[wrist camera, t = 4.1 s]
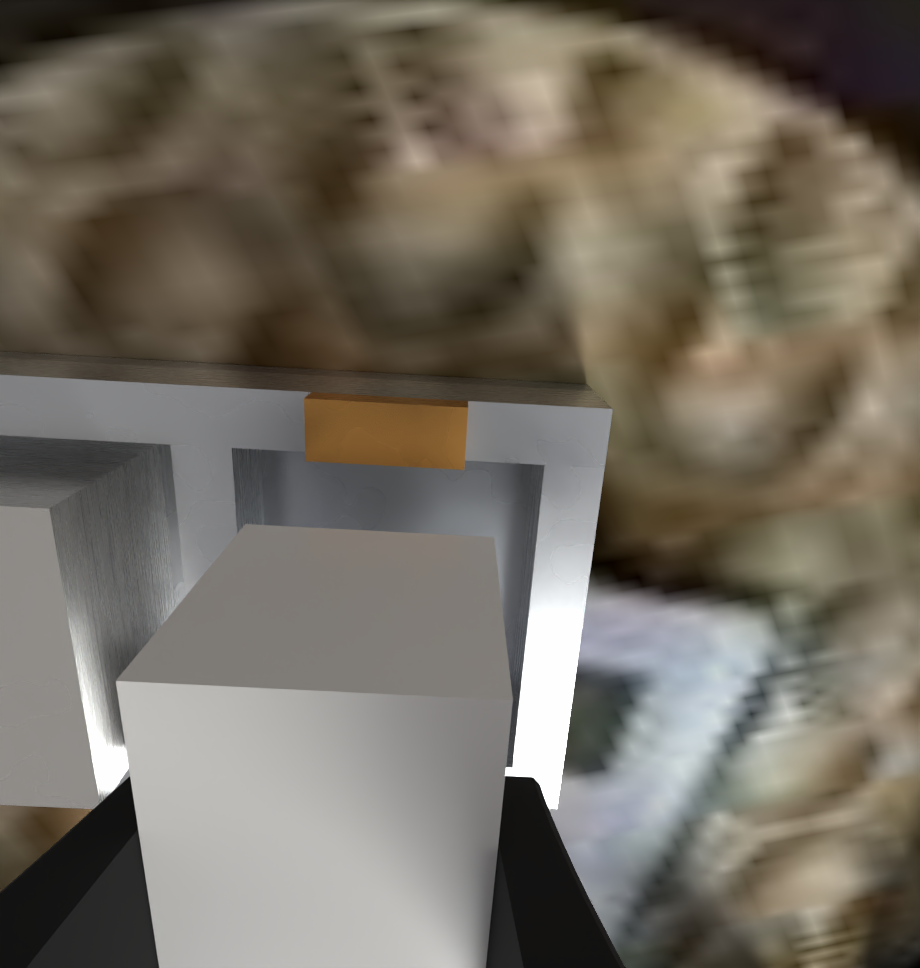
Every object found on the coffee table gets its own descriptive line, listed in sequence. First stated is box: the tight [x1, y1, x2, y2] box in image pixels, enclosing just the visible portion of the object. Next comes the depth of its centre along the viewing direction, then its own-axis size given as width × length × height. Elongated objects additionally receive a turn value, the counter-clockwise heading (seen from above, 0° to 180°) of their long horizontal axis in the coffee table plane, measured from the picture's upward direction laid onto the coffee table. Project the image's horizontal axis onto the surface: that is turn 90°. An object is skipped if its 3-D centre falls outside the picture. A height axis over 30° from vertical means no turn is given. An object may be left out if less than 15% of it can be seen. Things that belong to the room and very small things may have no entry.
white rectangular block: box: [116, 524, 513, 968], centre depth 9 cm, size 6×4×4 cm, turn 177°
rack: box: [0, 351, 613, 809], centre depth 14 cm, size 10×16×5 cm, turn 87°
